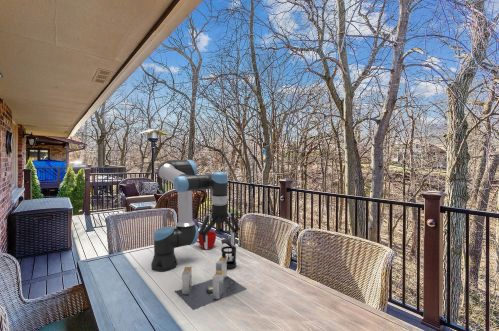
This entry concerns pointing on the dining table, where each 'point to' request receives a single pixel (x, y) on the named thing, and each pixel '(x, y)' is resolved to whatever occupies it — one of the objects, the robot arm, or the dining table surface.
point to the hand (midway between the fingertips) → (219, 246)
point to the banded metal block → (218, 285)
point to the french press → (230, 259)
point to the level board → (208, 293)
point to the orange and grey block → (186, 280)
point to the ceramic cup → (208, 239)
